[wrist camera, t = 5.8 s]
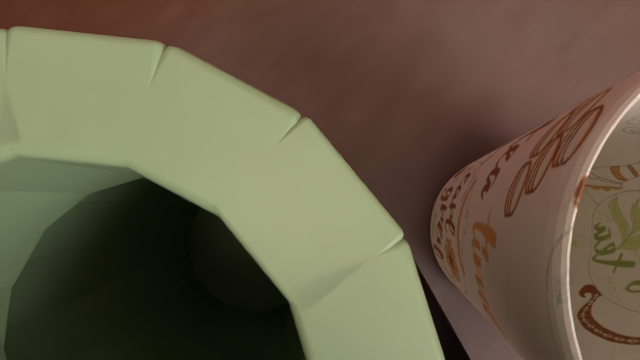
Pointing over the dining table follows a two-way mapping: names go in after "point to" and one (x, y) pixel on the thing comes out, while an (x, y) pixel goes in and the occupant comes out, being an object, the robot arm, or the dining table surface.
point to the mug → (553, 232)
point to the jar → (184, 217)
